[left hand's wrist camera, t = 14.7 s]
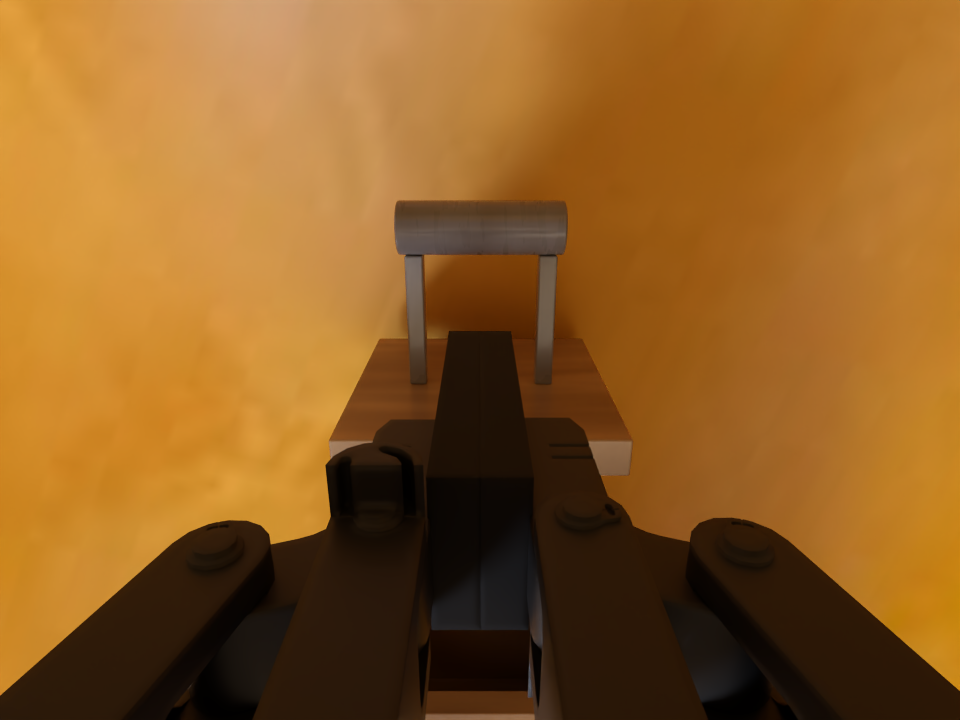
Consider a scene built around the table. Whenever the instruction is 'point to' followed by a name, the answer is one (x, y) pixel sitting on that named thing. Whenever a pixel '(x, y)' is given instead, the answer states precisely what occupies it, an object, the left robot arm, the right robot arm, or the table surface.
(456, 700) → the cabinet
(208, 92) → the table surface
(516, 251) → the drawer
